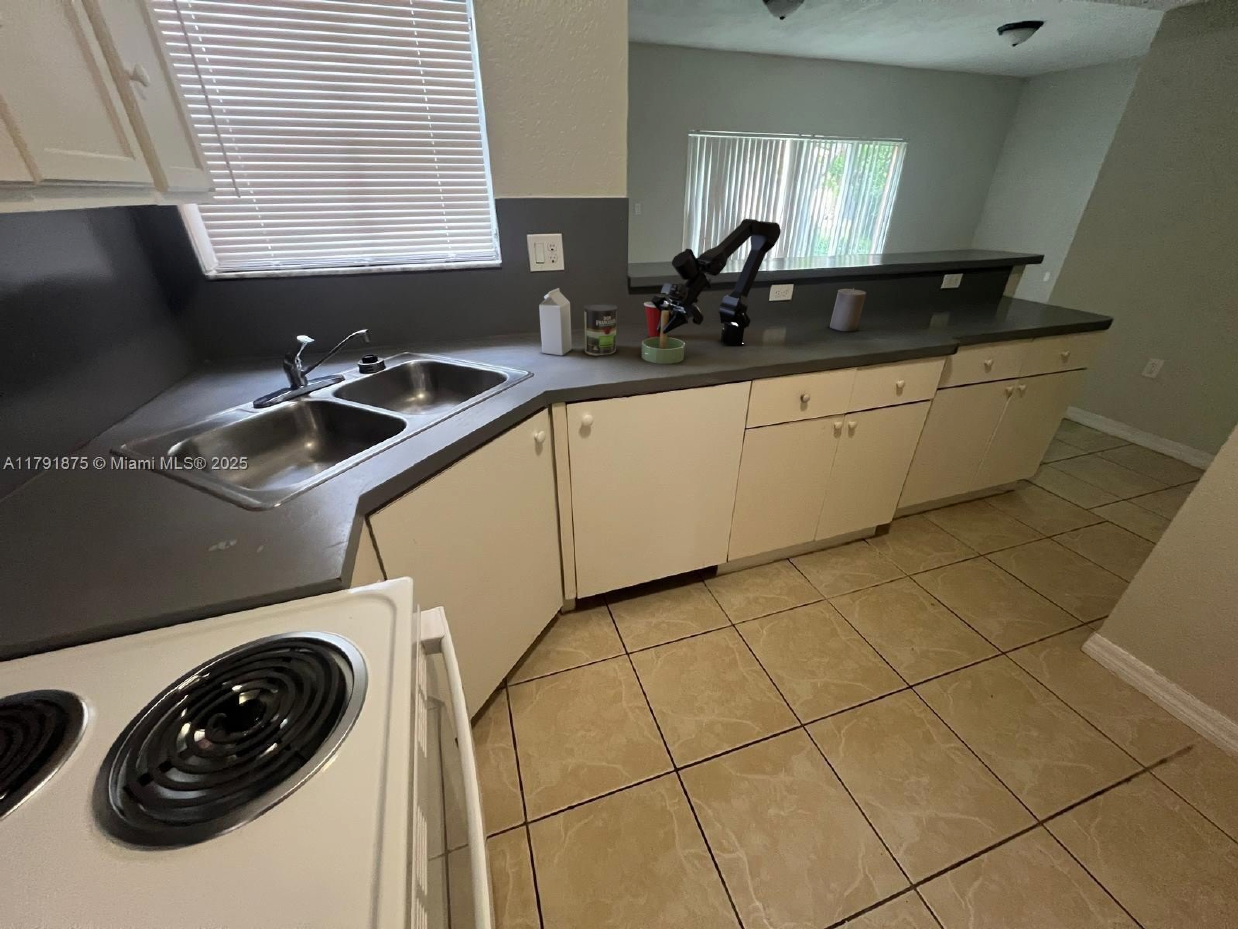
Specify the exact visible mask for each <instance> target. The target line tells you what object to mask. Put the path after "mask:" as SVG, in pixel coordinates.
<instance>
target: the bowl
mask: <svg viewBox="0 0 1238 929" xmlns="http://www.w3.org/2000/svg"><path fill="white" fill-rule="evenodd" d="M659 348H660V337H652V338H650V337H647V338H645V339H643V340H642V341H641V348H640V350H641V351H640V357H641V359H643V360H644V361H646V362H648V363H652V364H661V365H670V364H677V363H680V362H682V361H683V360H684V358H685V351H686V350H685V349H686V343H685V341H683V340H681V339H678V338H675V337H670V336H669V337H668V336H667V349H659Z"/></svg>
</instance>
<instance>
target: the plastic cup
mask: <svg viewBox="0 0 1238 929" xmlns="http://www.w3.org/2000/svg"><path fill="white" fill-rule="evenodd" d="M643 305H644V308H645V313H646V314H645V315H646V322H647V329H648V336H649V337H648V338H652V337H660V332H661V331H660V332H658V331H657V328H658V325H659V321H660V318H661V312H659V310H658V309H657V308H656V307H655V305H654V304H653V303H652V302H651V301H645V302H644V303H643Z"/></svg>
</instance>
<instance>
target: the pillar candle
mask: <svg viewBox="0 0 1238 929" xmlns="http://www.w3.org/2000/svg"><path fill="white" fill-rule="evenodd" d="M866 295H867V292H866V291H864V290H861V289H855V287H853V288H840V289H838V290H837V295H836V299H835V304H834V307H833V312H832V315H831V320H830V324H829V328H830V329H832V330H836V331H838V332H849V333H850V332H856V331H857V329H858V325H859V321H860V318H861V314H862V310H863V306H864V303H865V299H866Z"/></svg>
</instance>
